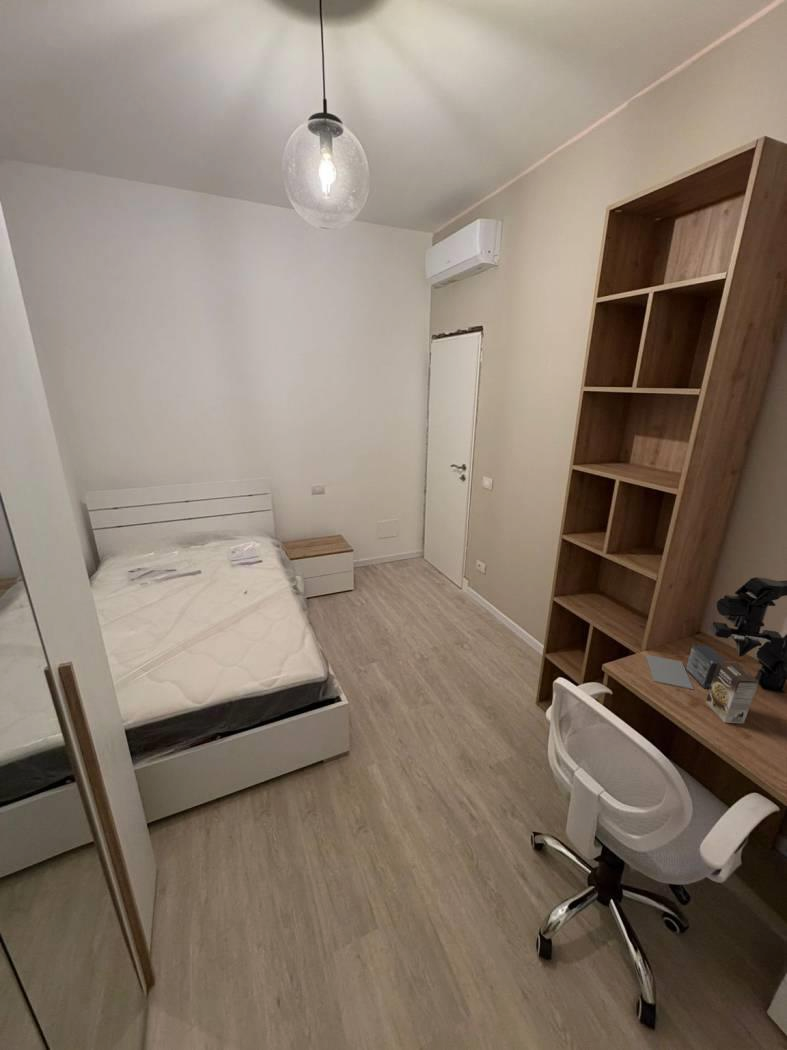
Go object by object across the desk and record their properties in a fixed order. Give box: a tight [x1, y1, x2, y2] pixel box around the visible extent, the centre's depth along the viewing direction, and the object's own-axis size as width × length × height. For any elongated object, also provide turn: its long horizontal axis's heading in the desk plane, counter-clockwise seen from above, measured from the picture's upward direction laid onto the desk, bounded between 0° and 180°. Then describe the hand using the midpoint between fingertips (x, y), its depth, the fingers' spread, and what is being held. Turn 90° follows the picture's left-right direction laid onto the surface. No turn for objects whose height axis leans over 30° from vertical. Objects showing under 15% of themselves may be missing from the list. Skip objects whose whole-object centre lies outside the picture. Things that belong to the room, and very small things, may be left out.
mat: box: [645, 654, 695, 691], centre depth 153 cm, size 12×16×1 cm
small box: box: [684, 645, 727, 689], centre depth 148 cm, size 11×6×10 cm, turn 178°
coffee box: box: [705, 661, 759, 724], centre depth 132 cm, size 9×6×16 cm
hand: (739, 655), depth 143 cm, fingers closed
